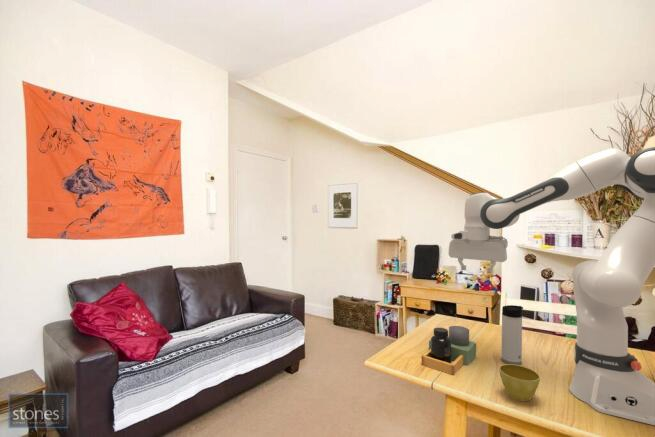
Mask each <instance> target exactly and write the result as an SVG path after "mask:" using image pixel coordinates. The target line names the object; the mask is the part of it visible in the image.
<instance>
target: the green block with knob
mask: <svg viewBox="0 0 655 437" xmlns="http://www.w3.org/2000/svg"><path fill="white" fill-rule="evenodd" d="M448 337H449V338H450V340H451V362H454V361H455V360H456V359H457V358H458V357H459V356H460V355H462V356H463V366H464V365H465V366H469V365H470V364H471V362H472V361H474V359H475V358H476V357H477V342H474V341H472V340H470V329H469V328H467V327H466V326H463V325H462V326H460V325H451V326H449V327H448ZM430 349H431V339H429V341H428V351H429V350H430Z"/></svg>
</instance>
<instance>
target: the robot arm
mask: <svg viewBox="0 0 655 437" xmlns="http://www.w3.org/2000/svg"><path fill="white" fill-rule="evenodd" d="M613 185H619V186H620V187H621V188H622V189H623V190H624V191H626V192H628V193H629V194H630V195H632V196H634V197H636V198H637V199H639V200H642V201H643V202H642V204H641V205H640V206H639V207H638V208H637V210H636V211H635V212H633V214H632V215H631V216H630V217H629V218H628V219H627V220H626V221H625V223H624V224H623V225H622V226H621V227H619V229H618V230H617V231H616V232H615V233H614V234H613V235H612V236H611V238H610V239H609V243H608V245H607V247H606V248H605V250H604V252H602V255H601V256H600V258H599V259H590V260H584V261H582V262H579V263H578V264H577V265H575V266H574V267H573V270H572V273H571V276H572V277H571V278H572V285H573V286H572V287H573V297H574V305H575V312H576V342H575V344H574V347H573V348H574V349H573V350H574V352H573V354H574V358H573V359H574V363H575V365H574V372H573V377H572V379H571V382H570V385H569V388H568V389H569V392H570V393H571V394H572V395H573V396H574V397H576V398H577V399H579V400H581V401H582V402H584V403H586V404H588V405H589V406H590V407H592V408H593V409H594V410H595V411H596V412H599V413H602V414H606V415H610V416H615V417H619V418H623V419H627V420H631V421H635V422H640V423H643V424H647V425H648V424H649V425H652V426H655V382H654V381H653V380H652V379H650V378H649V377H648V376H646V375H645V374H644V373H643V372H641V371H640V370H642V364H641V363H640V362H639V361H638V359H637V357H636V356H635V354H631V353H629V352H628V350H629V349H628V348H629V347H628V346H629V345H628V344H629V342H628V341H629V326H628V323H627V320H626V318H625V313H624V309H623V308H626V307H629V306H632V305H633V304H635V303H636V302H638V300H639V299H640V297H641V293H642V287H643V286H644V284H645V282H646V281H647V279H648V278H649V276H650V275H651V273H652V271H653V270H654V267H655V146H651V147H647V148H644V149H641V150H639V151H637V152H636V153H635V154H633V156H629V154H628V153H626V151H623V150H622V149H619V148H615V147H613V148H607V149H604V150H600V151H598V152H595V153H592V154H589V155H587V156H585V157H582V158H580V159H578V160H576V161H574V162H573V163H570V164H568V165H566V166H565V167H563V168H561V169H560V170H558V171H556V172H555V173H554V174H552V175H551V176H549V177H547V178H546V179H544V180H543V181H541V182H540V183H538V184H536V185H534V186H531V187H529V188H528V189H525V190H523V191H521V192H518V193H516V194H514V195H512V196H509V197H506V198H505V197H504V198H499V197H496V196H493V195H491V194H490V193H488V192H486V191H483V192H482V191H481V192H476V193H472V194H470V195H468V196H467V197H466V198H465V203H464V220H465V221H464V223H465V224H464V228H463V230H461V231H458V232H455V233H451V240H450V242H449V245H448V256H449V257H450V258H454V259H457V262H458V264H459V266H460V270H461V271H467V265H465V264H464V263H463V262H464V260H477V261H483V262H484V261H486V262H487V261H489V262H490V267H487V268H486V269H487V270H486V273H488V274H493V270H494V267H495V266H496V265H497V262H499V263H504V262H506V261H507V260H508V254H507V252H508V251H507V248H508V244H509V242H508V239H507V238H506V237H504V236H496V235H491V234H490V233H491V229H492V230H500V229H504V228H508V227H512V226H513V225H515V224H516V223H518V220H519V219H520V216H521V214H524V213H526V212H528V211H530V210H533V209H535V208H537V207H539V206H542V205H544V204H549V203H551V202H557V201H570V200H575V199H579V198H582V197H585V196H588V195H590V194H593V193H595V192H598V191H600V190H602V189H605V188H607V187H611V186H613Z"/></svg>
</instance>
